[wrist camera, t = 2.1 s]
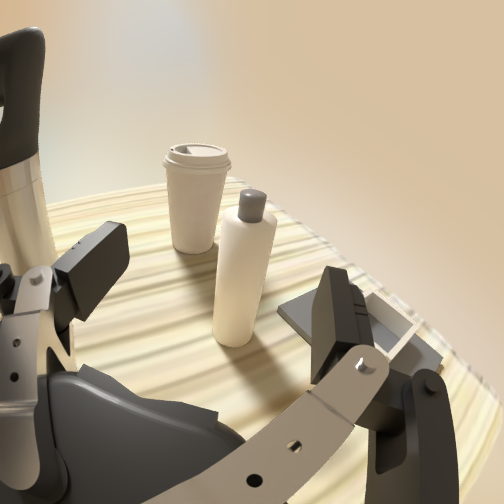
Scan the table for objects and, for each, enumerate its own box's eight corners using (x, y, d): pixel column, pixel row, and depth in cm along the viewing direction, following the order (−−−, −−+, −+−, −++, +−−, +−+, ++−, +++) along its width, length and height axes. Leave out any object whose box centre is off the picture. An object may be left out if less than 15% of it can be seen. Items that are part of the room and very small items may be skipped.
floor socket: (276, 311, 33) (283, 287, 31) (340, 280, 40) (349, 259, 38) (395, 425, 20) (417, 409, 18) (439, 362, 28) (456, 343, 25)
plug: (205, 325, 29) (214, 186, 21) (237, 312, 32) (259, 181, 23) (225, 353, 27) (246, 210, 18) (259, 337, 29) (293, 202, 20)
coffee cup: (171, 225, 46) (173, 140, 38) (224, 231, 47) (235, 145, 39) (155, 256, 38) (153, 155, 30) (219, 264, 39) (230, 161, 31)
